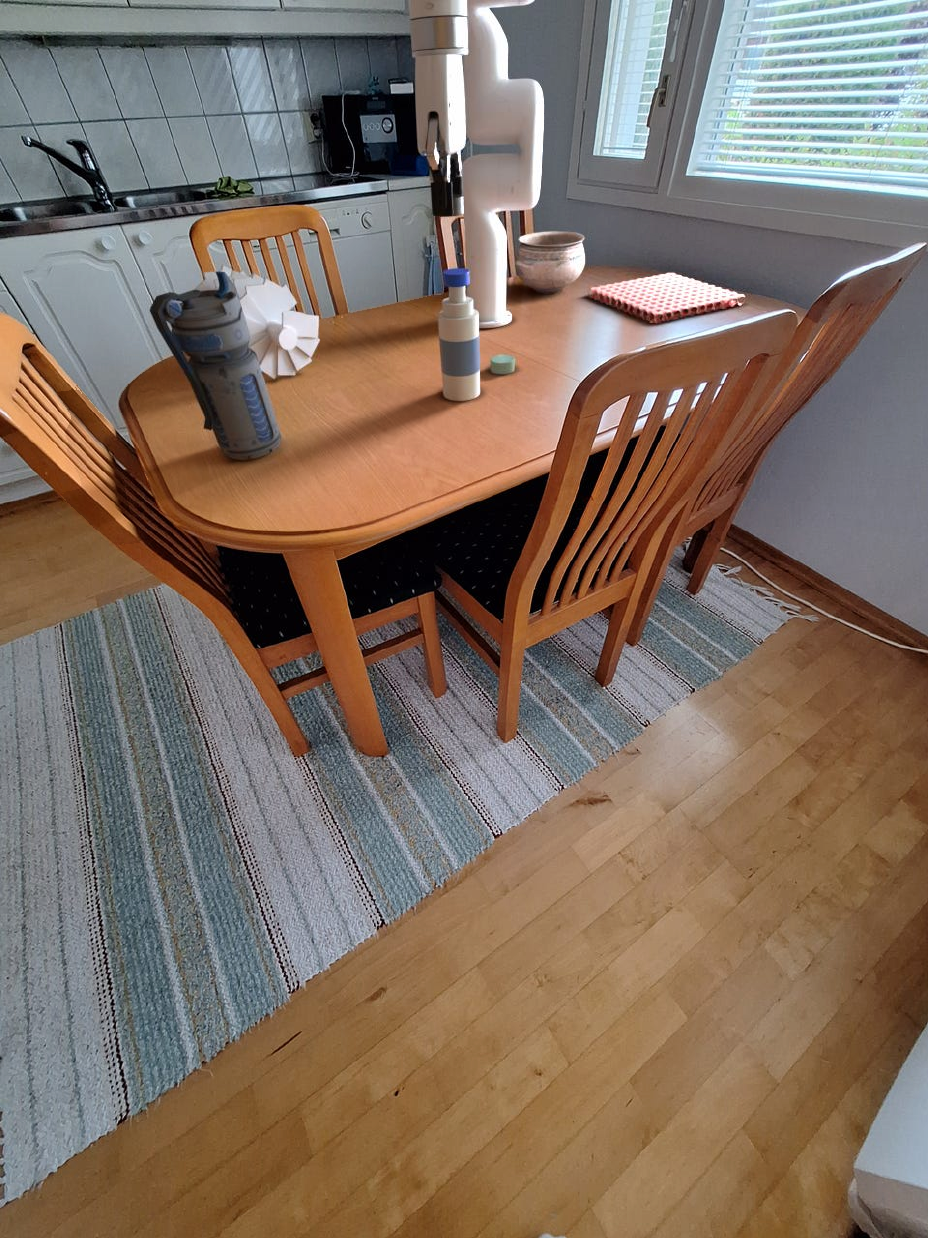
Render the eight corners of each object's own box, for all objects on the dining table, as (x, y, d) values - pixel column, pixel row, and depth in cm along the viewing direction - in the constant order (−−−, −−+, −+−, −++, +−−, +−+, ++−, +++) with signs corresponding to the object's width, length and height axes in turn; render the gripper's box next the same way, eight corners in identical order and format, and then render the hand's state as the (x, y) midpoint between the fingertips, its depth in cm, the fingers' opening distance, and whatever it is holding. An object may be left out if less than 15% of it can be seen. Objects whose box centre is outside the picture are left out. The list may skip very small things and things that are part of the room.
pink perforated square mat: (587, 296, 144) (588, 287, 143) (669, 280, 152) (671, 271, 150) (654, 324, 126) (656, 314, 124) (743, 304, 133) (746, 295, 132)
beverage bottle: (198, 460, 88) (122, 289, 70) (259, 428, 96) (205, 266, 78) (237, 476, 84) (168, 298, 66) (298, 441, 92) (251, 273, 74)
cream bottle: (437, 389, 104) (428, 269, 90) (471, 382, 106) (468, 263, 92) (450, 404, 100) (443, 279, 85) (486, 396, 101) (484, 272, 87)
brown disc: (428, 213, 84) (426, 195, 82) (457, 210, 85) (456, 192, 84) (438, 218, 81) (437, 199, 79) (468, 214, 82) (468, 196, 80)
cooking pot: (554, 275, 160) (557, 226, 152) (603, 286, 150) (609, 234, 141) (492, 293, 150) (492, 241, 141) (540, 306, 139) (544, 251, 130)
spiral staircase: (284, 404, 112) (227, 369, 124) (339, 345, 114) (277, 317, 126) (223, 330, 96) (164, 299, 108) (288, 264, 98) (223, 240, 110)
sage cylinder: (486, 367, 111) (486, 356, 110) (508, 363, 112) (508, 352, 111) (496, 376, 108) (496, 364, 106) (518, 371, 109) (518, 360, 108)
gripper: (431, 44, 76) (440, 203, 89) (391, 39, 65) (408, 222, 78) (481, 40, 75) (483, 202, 88) (449, 34, 63) (457, 222, 76)
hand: (448, 210), depth 83 cm, fingers closed on brown disc, 5 cm apart
